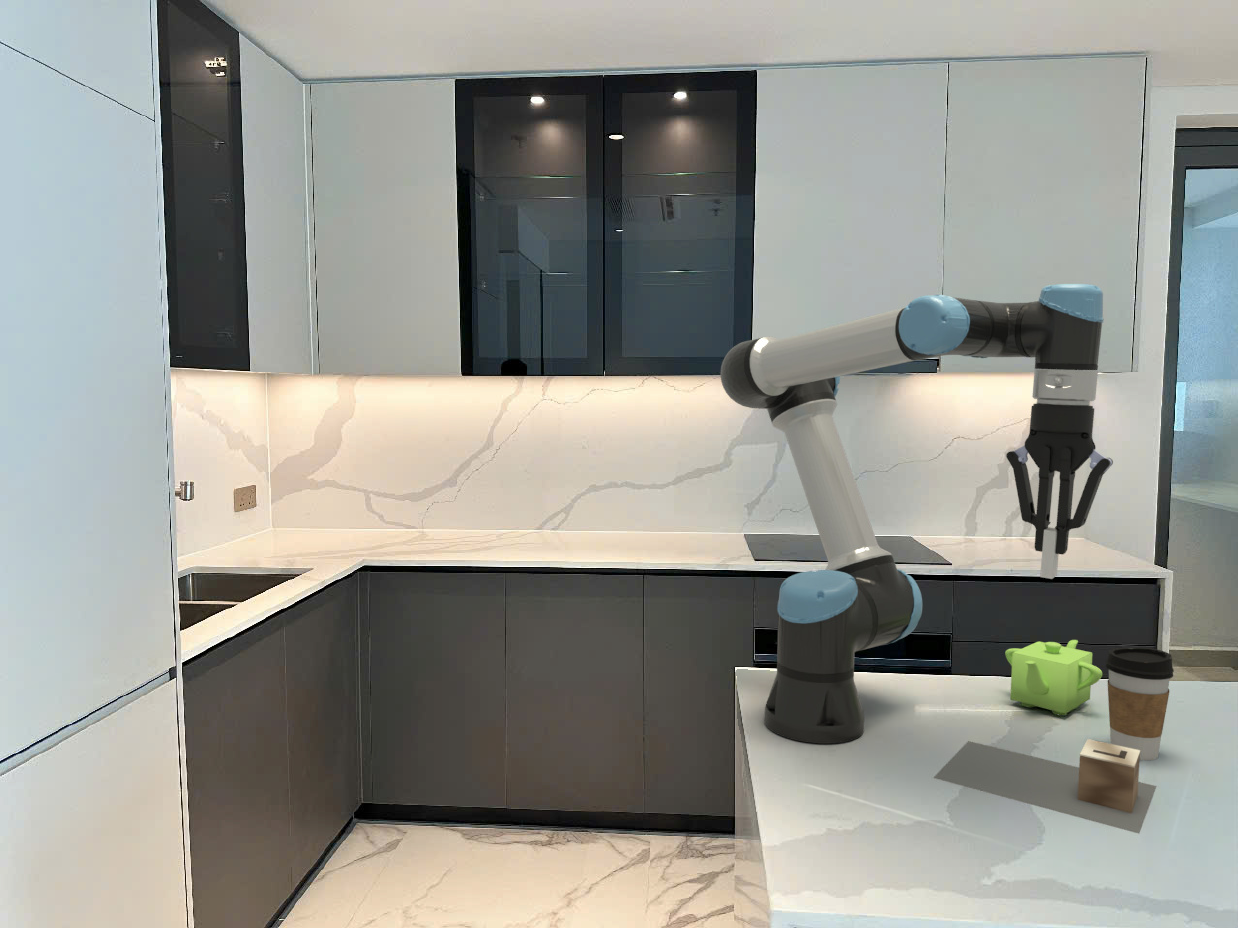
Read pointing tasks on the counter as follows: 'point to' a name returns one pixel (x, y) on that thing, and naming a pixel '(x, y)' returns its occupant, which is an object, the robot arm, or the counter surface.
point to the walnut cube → (1109, 775)
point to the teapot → (1052, 676)
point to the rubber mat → (1037, 784)
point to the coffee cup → (1138, 698)
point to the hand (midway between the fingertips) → (1048, 576)
